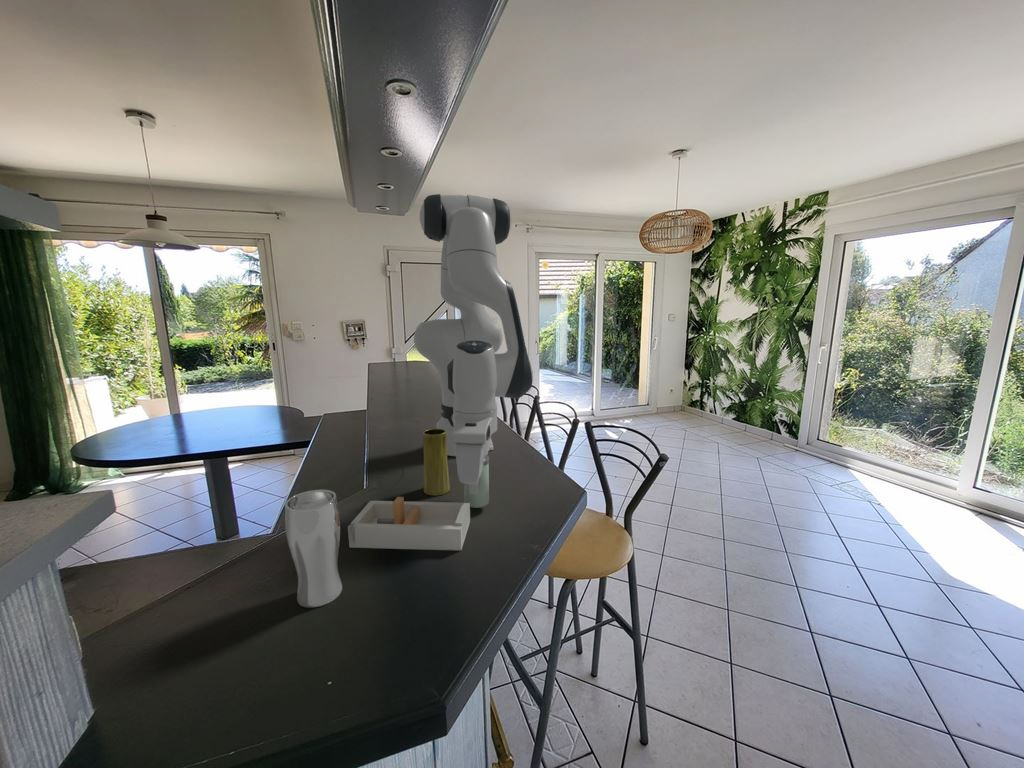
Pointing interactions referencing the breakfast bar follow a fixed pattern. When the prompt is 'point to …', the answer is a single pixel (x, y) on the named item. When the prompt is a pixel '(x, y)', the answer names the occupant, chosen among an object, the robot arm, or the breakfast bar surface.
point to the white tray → (411, 526)
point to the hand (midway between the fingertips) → (476, 485)
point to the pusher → (401, 514)
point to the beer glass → (314, 545)
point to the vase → (435, 462)
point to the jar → (483, 493)
